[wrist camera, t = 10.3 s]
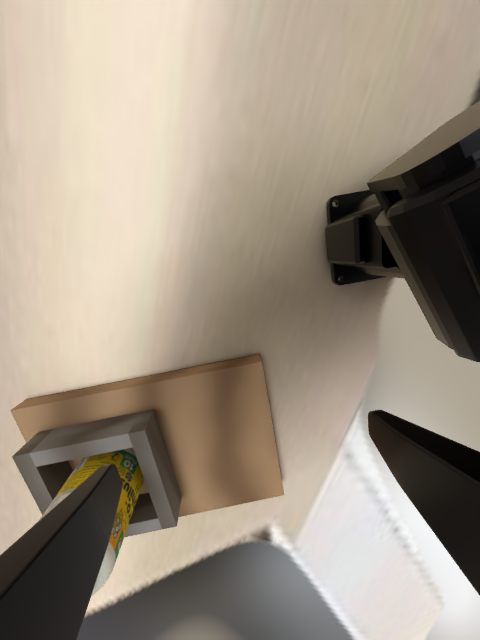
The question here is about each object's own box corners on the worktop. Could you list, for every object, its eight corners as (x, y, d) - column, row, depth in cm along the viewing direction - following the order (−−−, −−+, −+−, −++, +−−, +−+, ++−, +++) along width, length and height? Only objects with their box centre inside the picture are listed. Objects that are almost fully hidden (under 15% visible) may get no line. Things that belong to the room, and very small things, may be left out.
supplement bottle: (76, 442, 20) (-54, 607, 10) (142, 436, 20) (73, 591, 11) (90, 493, 21) (-15, 679, 12) (152, 487, 21) (97, 664, 12)
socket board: (259, 354, 20) (267, 376, 17) (280, 480, 24) (291, 523, 20) (25, 399, 20) (-22, 433, 16) (83, 521, 24) (55, 573, 20)
